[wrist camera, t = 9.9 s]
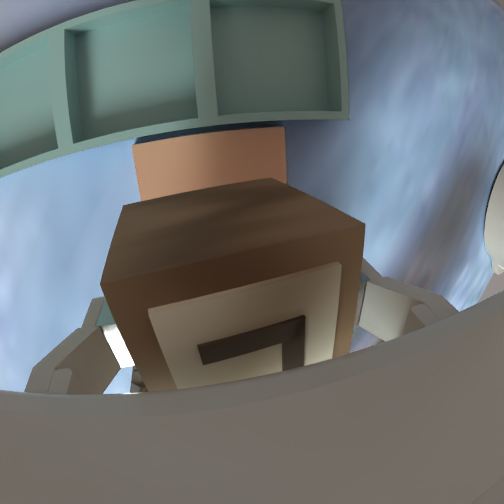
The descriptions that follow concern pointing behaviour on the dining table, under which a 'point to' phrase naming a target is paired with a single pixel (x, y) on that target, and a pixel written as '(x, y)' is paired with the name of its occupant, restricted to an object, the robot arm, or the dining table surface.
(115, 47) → the tray middle
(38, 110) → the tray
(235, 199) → the letter cube
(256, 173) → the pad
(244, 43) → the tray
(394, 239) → the dining table surface
